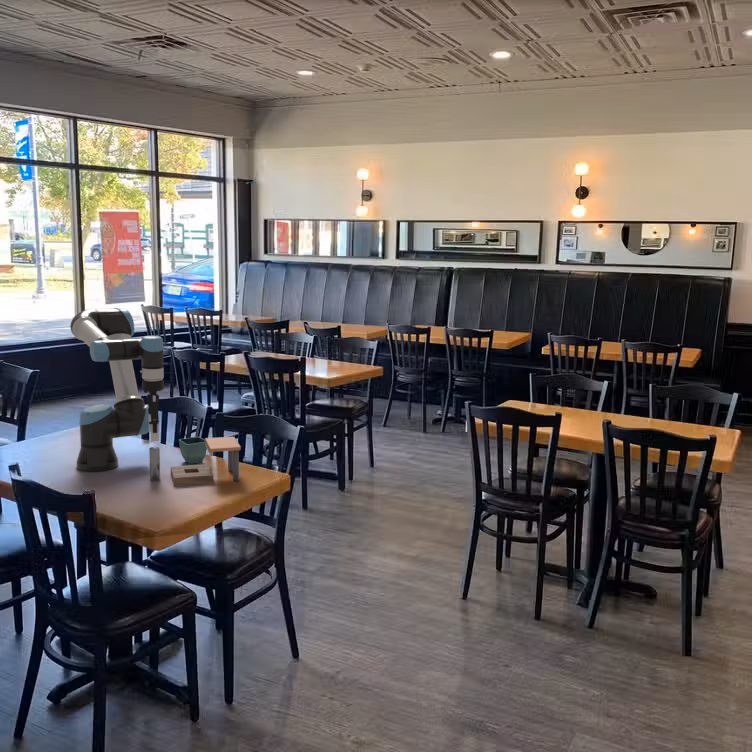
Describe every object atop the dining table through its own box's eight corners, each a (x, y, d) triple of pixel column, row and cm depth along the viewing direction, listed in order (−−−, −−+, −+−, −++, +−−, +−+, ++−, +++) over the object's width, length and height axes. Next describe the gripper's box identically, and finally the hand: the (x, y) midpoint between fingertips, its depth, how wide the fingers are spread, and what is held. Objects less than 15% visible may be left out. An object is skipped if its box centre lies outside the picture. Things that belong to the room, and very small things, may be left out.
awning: (205, 471, 293) (205, 438, 290) (233, 469, 296) (234, 436, 294) (210, 483, 279) (210, 448, 277) (240, 481, 283) (240, 446, 280)
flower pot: (187, 466, 298) (186, 444, 297) (178, 460, 305) (178, 439, 304) (208, 463, 303) (208, 441, 302) (199, 457, 310) (199, 436, 309)
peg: (149, 478, 282) (149, 447, 280) (159, 477, 284) (159, 446, 281) (150, 481, 279) (149, 449, 277) (160, 480, 280) (159, 449, 278)
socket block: (170, 474, 288) (170, 466, 287) (208, 471, 293) (208, 464, 292) (174, 485, 275) (173, 477, 274) (213, 482, 280) (213, 475, 279)
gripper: (140, 373, 284) (141, 428, 288) (143, 386, 261) (144, 446, 265) (161, 372, 287) (161, 427, 291) (166, 385, 264) (166, 444, 268)
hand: (153, 436), depth 278 cm, fingers open, 13 cm apart
